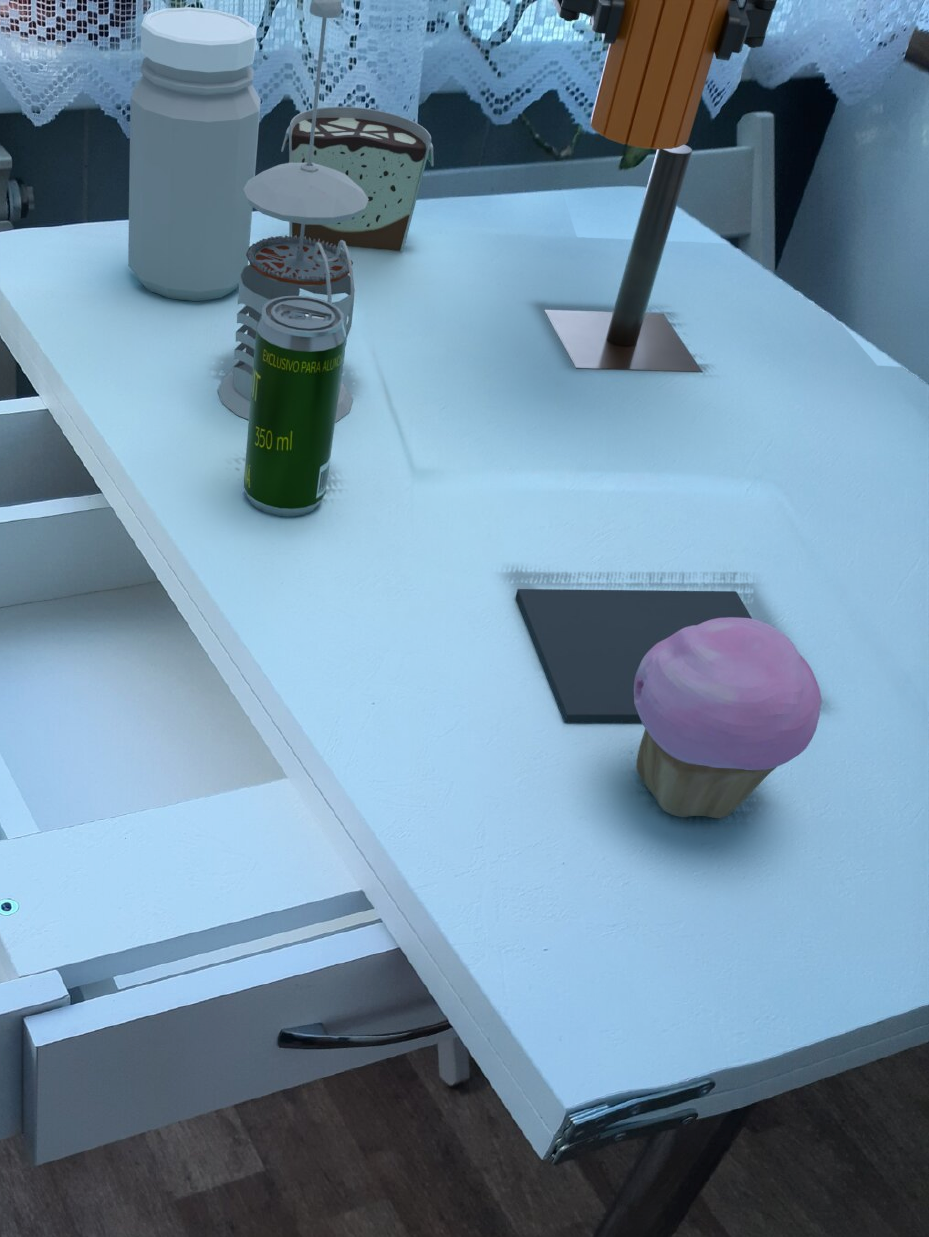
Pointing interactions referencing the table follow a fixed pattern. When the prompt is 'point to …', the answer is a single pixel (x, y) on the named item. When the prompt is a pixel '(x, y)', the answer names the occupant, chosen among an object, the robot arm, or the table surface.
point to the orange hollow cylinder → (657, 71)
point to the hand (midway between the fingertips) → (671, 32)
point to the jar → (192, 153)
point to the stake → (635, 291)
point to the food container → (365, 170)
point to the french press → (295, 247)
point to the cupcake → (721, 713)
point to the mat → (609, 641)
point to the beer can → (293, 404)
